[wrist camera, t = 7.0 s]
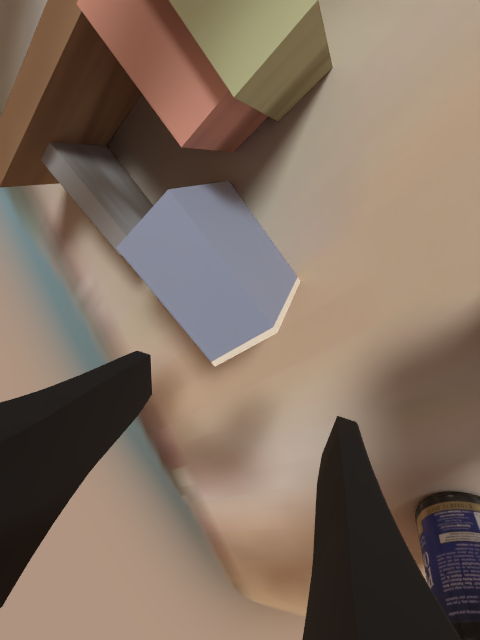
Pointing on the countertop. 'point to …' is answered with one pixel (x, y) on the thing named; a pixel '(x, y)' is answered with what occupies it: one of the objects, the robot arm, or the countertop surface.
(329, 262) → the countertop surface
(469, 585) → the pill bottle
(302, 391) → the countertop surface
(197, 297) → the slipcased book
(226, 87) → the shelf
